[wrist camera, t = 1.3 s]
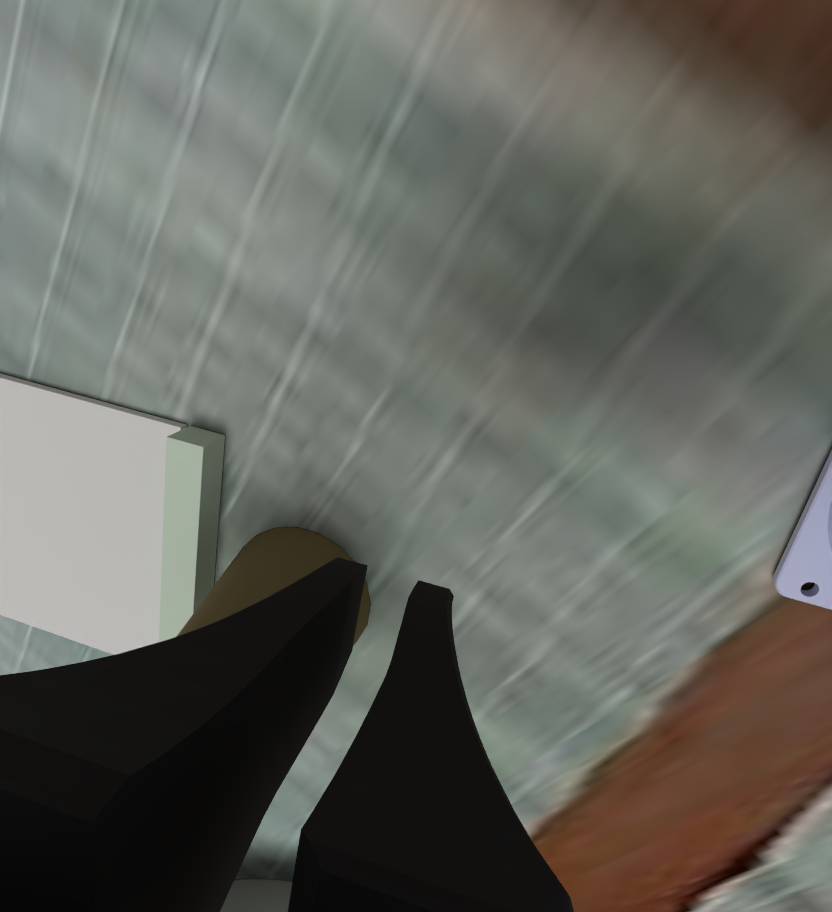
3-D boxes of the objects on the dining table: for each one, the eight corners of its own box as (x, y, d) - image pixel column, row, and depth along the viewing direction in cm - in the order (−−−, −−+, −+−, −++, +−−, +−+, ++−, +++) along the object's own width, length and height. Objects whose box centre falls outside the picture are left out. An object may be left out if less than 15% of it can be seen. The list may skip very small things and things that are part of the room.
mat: (186, 424, 24) (180, 427, 24) (174, 668, 28) (169, 674, 28) (-69, 354, 26) (-78, 356, 26) (-43, 592, 30) (-51, 597, 30)
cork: (399, 624, 25) (274, 889, 14) (290, 676, 27) (116, 937, 17) (311, 501, 24) (113, 691, 14) (206, 565, 26) (-30, 770, 16)
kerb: (225, 435, 24) (203, 447, 22) (206, 679, 28) (187, 702, 27) (190, 425, 24) (166, 436, 23) (177, 669, 28) (157, 691, 27)
